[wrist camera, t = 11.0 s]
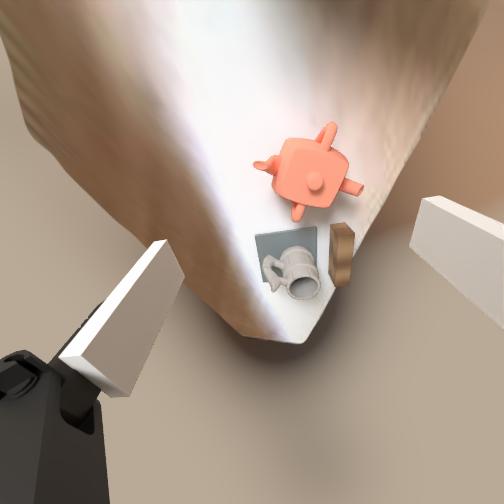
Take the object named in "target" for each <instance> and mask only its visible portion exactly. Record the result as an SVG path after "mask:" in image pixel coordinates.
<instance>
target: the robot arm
mask: <svg viewBox="0 0 504 504" xmlns="http://www.w3.org/2000/svg"><path fill="white" fill-rule="evenodd" d="M409 247H410V248H411V249H412V250H413V251H415V252H416V253H417V254H418V255H419V256H420V257H421V258H422V259H424V260H425V261H426V262H427V263H428V264H429V265H430V266H432V267H433V268H434V269H435V270H436V271H437V272H438V273H440V274H441V275H442V276H443V277H444V278H445V279H446V280H447V281H449V282H450V283H451V284H452V285H453V286H454V287H456V288H457V289H458V290H459V291H460V292H461V293H462V294H463V295H465V296H466V297H467V298H468V299H469V300H470V301H471V302H472V303H474V304H475V305H476V306H477V307H478V308H479V309H480V310H482V311H483V312H484V313H485V314H486V315H487V316H488V317H489V318H491V319H492V320H493V321H494V322H495V323H496V324H497V325H499V326H500V327H501V328H502V329H503V330H504V224H502V223H500V222H498V221H496V220H493V219H491V218H489V217H487V216H484V215H482V214H480V213H478V212H475V211H473V210H471V209H469V208H467V207H464V206H462V205H460V204H458V203H455V202H453V201H451V200H449V199H446V198H444V197H442V196H434V197H428V198H423V199H422V201H421V205H420V208H419V212H418V216H417V219H416V223H415V227H414V230H413V234H412V238H411V241H410V245H409ZM184 277H185V276H184V274H183V272H182V270H181V268H180V266H179V264H178V262H177V259H176V257H175V255H174V253H173V251H172V249H171V247H170V245H169V243H168V241H167V240H161V241H155V242H153V244H152V245H151V246H150V247H149V248H148V250H147V251H146V252H145V253H144V255H143V256H142V257H141V258H140V259H139V261H138V262H137V263H136V264H135V266H134V267H133V268H132V269H131V270H130V271H129V273H128V274H127V275H126V277H124V279H123V280H122V281H121V282H120V283H119V285H118V286H117V287H116V288H115V290H114V291H113V292H112V293H111V294H110V296H109V297H108V298H107V299H105V300H104V301H103V302H102V303H100V304H99V305H98V306H97V307H96V308H95V309H94V310H93V312H92V313H91V314H90V315H89V316H88V319H86V320H85V321H84V322H83V323H82V325H81V327H80V328H78V329H77V330H76V332H75V333H74V334H73V335H72V336H71V337H70V339H69V340H68V341H67V342H66V343H65V345H64V346H63V347H62V348H61V349H60V350H59V352H58V353H57V354H56V355H55V356H54V357H53V359H52V360H51V361H50V362H49V363H48V364H46V363H45V362H43V361H42V360H40V359H39V358H38V357H36V356H35V355H34V354H32V353H31V352H29V351H26V350H21V351H16V352H14V353H12V354H9V355H7V356H5V357H4V358H2V359H0V504H110V500H109V488H108V478H107V467H106V456H105V446H104V434H103V423H102V412H101V404H100V402H99V401H98V400H97V397H98V395H99V393H100V392H101V390H102V391H103V392H104V393H106V394H107V395H108V396H109V397H111V398H113V397H129V396H130V395H131V392H132V390H133V388H134V386H135V384H136V381H137V379H138V377H139V375H140V373H141V371H142V369H143V366H144V364H145V362H146V360H147V358H148V356H149V353H150V351H151V349H152V347H153V345H154V342H155V340H156V338H157V336H158V334H159V332H160V329H161V327H162V325H163V323H164V320H165V319H166V316H167V314H168V312H169V310H170V308H171V306H172V303H173V301H174V299H175V297H176V295H177V293H178V290H179V288H180V286H181V284H182V282H183V280H184Z"/></svg>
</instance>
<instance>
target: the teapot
mask: <svg viewBox="0 0 504 504" xmlns="http://www.w3.org/2000/svg"><path fill="white" fill-rule="evenodd" d="M336 132H337V124H336V123H335V122H330V123H328V124H327V125H326V126H325V127H324V128H323V129H322V131H321V132H320V134H319V135H318V136H317V138H316V139H315V141H314V140H309V139H303V138H289V139H287V140H286V141H285V142H284V144H283V146H282V149H281V152H280V154H279V155H274V156H271V157H270V158H269V159H268V160H267V161H266V162H263V161H255V162H254V163H253V166H254V167H255V168H256V169H258V170H261V171H266V172H267V173H269V174H271V175H273V180H272V188H273V190H274V191H275V192H276V193H277V194H278V195H280V196H282V197H284V198H286V199H288V200H291V201H293V203H292V212H291V218H292V221H293V222H299V221H300V220H301V218H302V215H303V213H304V210H305V207H306V205H308V206H313V207H319V208H327V207H329V206H330V205H331V204H332V202H333V200H334V198H335V196H336V194H337V192H338V190H340V191H343V192H345V193H348V194H351V195H354V196H357V197H358V196H359V195H360V194H361V192H362V191H363V188H364V185H362V184H359V183H357V182H354V181H352V180H349V179H346V178H344V177H345V175H346V173H347V170H348V168H349V163H348V161H347V159H346V157H345V156H344V155H343V154H342V153H341V152H339V151H337V150H336V149H334V148H332V147H331V144H332V142H333V140H334V137H335V135H336Z"/></svg>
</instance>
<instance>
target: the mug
mask: <svg viewBox="0 0 504 504" xmlns="http://www.w3.org/2000/svg"><path fill="white" fill-rule="evenodd" d="M272 266H276V267H278V268H280V269H281V271H282V272H283V278H282V277H278V275H277V274H276V273H275V272H274V271H272V270H271V267H272ZM262 270H263V272H264V274H265V276H266V278H267V280H268V282H269V284H270V286H271V291H272V292H275V291H276V290H277V289H278V288H279V286H280V284H281V285H285V286H286V289H287V292H288V294H289V295H290V296H291V297H292V298H295V299H298V300H299V299H302V300H305V299H310V298H312V297H313V296H315V295H316V294H317V291H319V289H320V287H321V284H320V281H319V274H318V271H317V269H316V266H314V257H313V255H312V253H311V252H310V251H308V249H306V248H305V247H301V246H293V247H289V248H287V249H286V250H284V251H283V253H282V254H281V257H280V260H277V259H275V258H274V257H272V256H271V255H268V256H267V257H265V258H264V260H263V266H262Z"/></svg>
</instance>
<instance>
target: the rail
mask: <svg viewBox="0 0 504 504" xmlns="http://www.w3.org/2000/svg"><path fill="white" fill-rule="evenodd" d="M354 238H355V233H354V232H353V231H352V229H351V228H350V227H349V226H348V225H347V224H346V223H345V222H344V223H337V224H330V246H329V270H328V273H329V275H330V277H331V279H332V282H333V284H334V286H335V287H339V286H348V285H349V281H350V272H351V263H352V255H353V246H354Z"/></svg>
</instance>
